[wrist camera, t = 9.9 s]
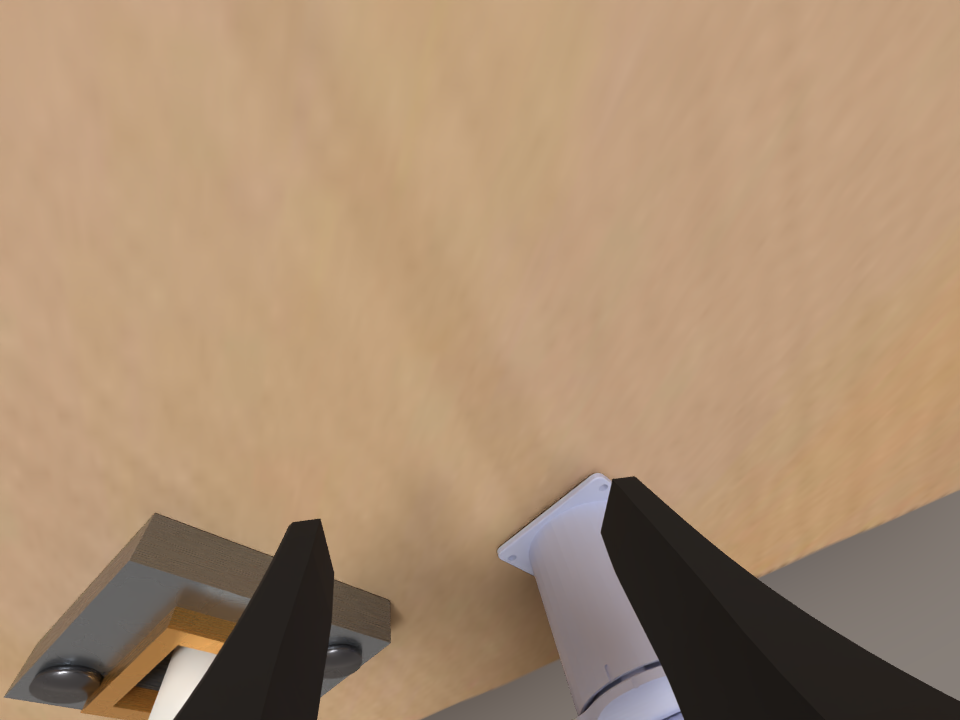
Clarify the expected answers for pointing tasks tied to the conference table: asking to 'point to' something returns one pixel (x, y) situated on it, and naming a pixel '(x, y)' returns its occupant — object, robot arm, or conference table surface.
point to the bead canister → (180, 681)
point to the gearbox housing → (172, 622)
